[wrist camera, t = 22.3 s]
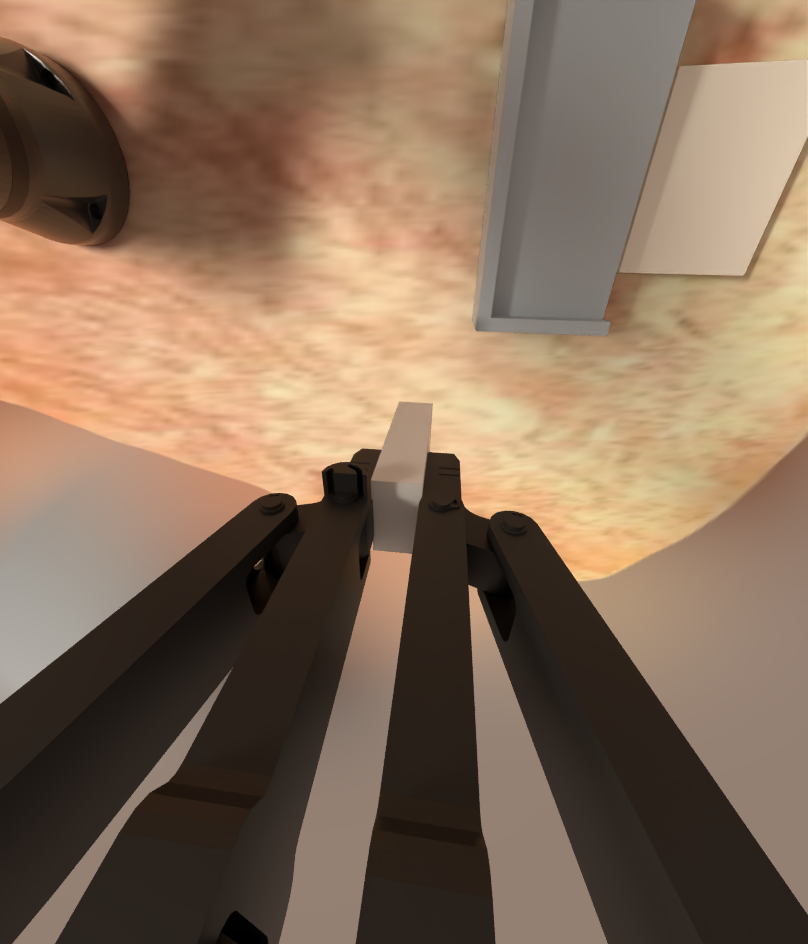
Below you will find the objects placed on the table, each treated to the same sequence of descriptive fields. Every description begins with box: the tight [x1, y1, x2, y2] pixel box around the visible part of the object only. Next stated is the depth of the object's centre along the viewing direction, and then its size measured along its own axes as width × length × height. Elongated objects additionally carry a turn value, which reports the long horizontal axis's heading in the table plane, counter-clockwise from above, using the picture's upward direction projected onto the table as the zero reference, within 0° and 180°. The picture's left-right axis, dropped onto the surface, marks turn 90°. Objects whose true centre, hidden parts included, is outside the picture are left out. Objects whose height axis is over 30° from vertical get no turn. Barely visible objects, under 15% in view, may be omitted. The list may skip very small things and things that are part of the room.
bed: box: [472, 0, 696, 336], centre depth 30 cm, size 12×24×7 cm, turn 179°
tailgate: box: [617, 59, 808, 276], centre depth 31 cm, size 1×14×11 cm
